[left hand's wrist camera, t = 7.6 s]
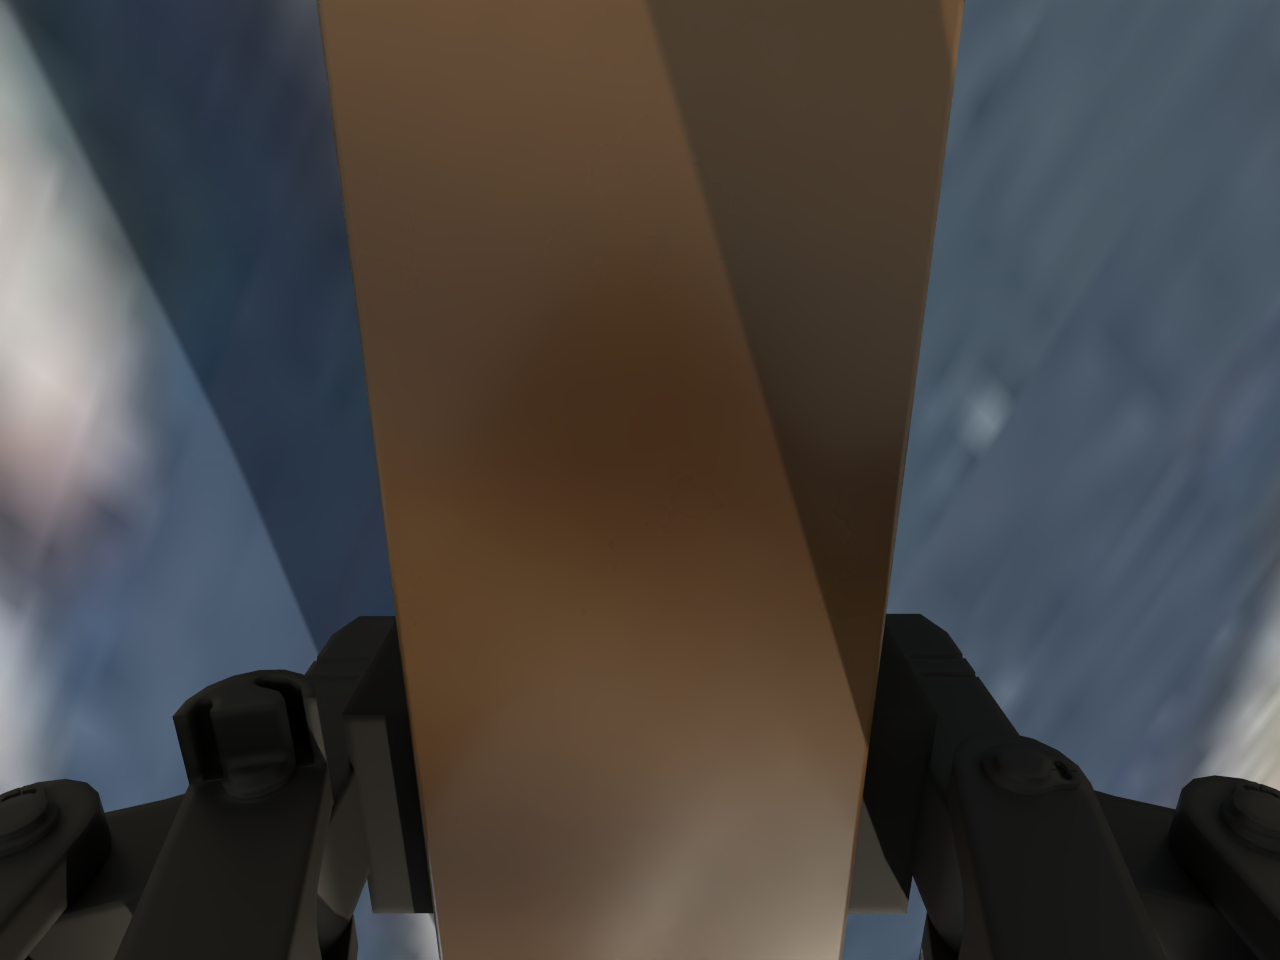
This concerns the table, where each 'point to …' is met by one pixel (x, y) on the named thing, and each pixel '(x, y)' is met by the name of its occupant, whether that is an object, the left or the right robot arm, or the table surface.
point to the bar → (640, 442)
